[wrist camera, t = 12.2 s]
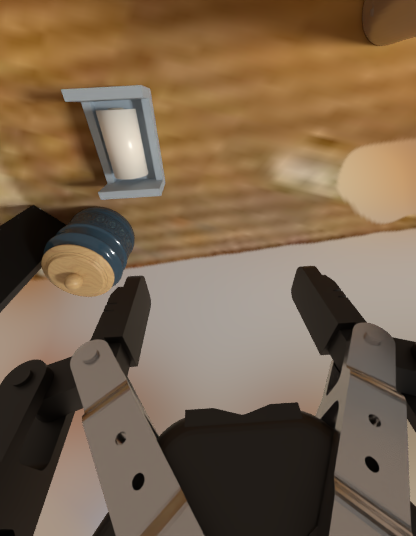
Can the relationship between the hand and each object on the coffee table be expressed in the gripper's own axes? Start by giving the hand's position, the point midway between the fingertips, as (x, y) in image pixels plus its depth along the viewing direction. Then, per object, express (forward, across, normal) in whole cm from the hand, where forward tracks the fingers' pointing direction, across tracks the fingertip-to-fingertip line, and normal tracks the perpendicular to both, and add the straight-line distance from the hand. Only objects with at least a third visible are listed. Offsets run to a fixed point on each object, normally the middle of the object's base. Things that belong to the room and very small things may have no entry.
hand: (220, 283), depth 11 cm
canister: (+35, +22, +14) cm, 44 cm away
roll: (+33, +14, -3) cm, 36 cm away
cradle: (+35, +13, -3) cm, 37 cm away
